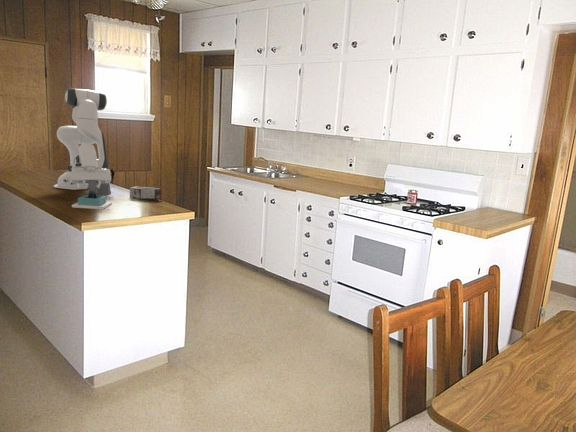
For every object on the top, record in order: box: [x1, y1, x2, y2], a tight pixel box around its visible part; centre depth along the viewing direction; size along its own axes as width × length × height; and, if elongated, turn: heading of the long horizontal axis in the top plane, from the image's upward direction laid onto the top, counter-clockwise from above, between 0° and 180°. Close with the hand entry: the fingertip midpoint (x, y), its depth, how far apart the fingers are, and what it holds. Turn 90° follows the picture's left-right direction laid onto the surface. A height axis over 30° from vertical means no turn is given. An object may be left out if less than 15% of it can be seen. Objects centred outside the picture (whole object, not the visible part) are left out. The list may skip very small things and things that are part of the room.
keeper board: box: [71, 194, 113, 210], centre depth 247 cm, size 16×14×5 cm
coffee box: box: [129, 185, 162, 202], centre depth 277 cm, size 9×6×16 cm
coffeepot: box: [96, 168, 116, 196], centre depth 281 cm, size 15×9×18 cm, turn 68°
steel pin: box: [87, 180, 98, 198], centre depth 245 cm, size 4×4×9 cm
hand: (92, 188), depth 245 cm, fingers closed on steel pin, 4 cm apart
